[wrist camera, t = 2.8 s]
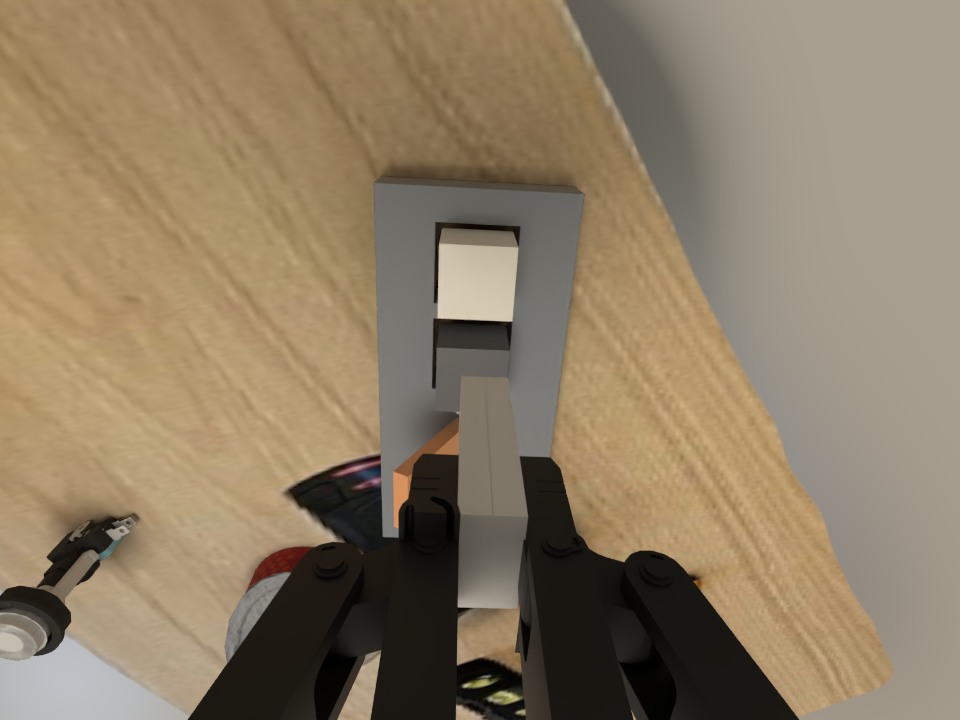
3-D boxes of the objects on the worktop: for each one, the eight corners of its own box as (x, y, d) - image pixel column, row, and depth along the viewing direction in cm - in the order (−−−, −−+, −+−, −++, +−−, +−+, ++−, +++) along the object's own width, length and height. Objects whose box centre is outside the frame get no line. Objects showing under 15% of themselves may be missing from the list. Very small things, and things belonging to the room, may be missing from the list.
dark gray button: (439, 322, 35) (436, 347, 32) (505, 325, 35) (509, 350, 32) (438, 380, 37) (435, 411, 33) (500, 383, 37) (504, 413, 34)
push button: (114, 492, 44) (22, 595, 35) (160, 538, 46) (84, 647, 37) (50, 523, 45) (-55, 630, 36) (98, 566, 47) (9, 678, 38)
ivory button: (442, 227, 33) (439, 243, 29) (512, 231, 33) (518, 247, 29) (440, 295, 34) (437, 318, 31) (507, 298, 35) (512, 321, 31)
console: (381, 176, 34) (369, 186, 30) (575, 186, 34) (589, 198, 30) (388, 510, 45) (380, 550, 41) (534, 514, 45) (541, 554, 41)
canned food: (268, 553, 53) (180, 605, 43) (345, 511, 49) (267, 558, 40) (323, 661, 52) (245, 739, 42) (405, 626, 48) (340, 702, 39)
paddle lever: (465, 406, 37) (391, 467, 31) (480, 411, 37) (409, 474, 30) (462, 460, 39) (392, 528, 33) (477, 465, 39) (409, 536, 32)
